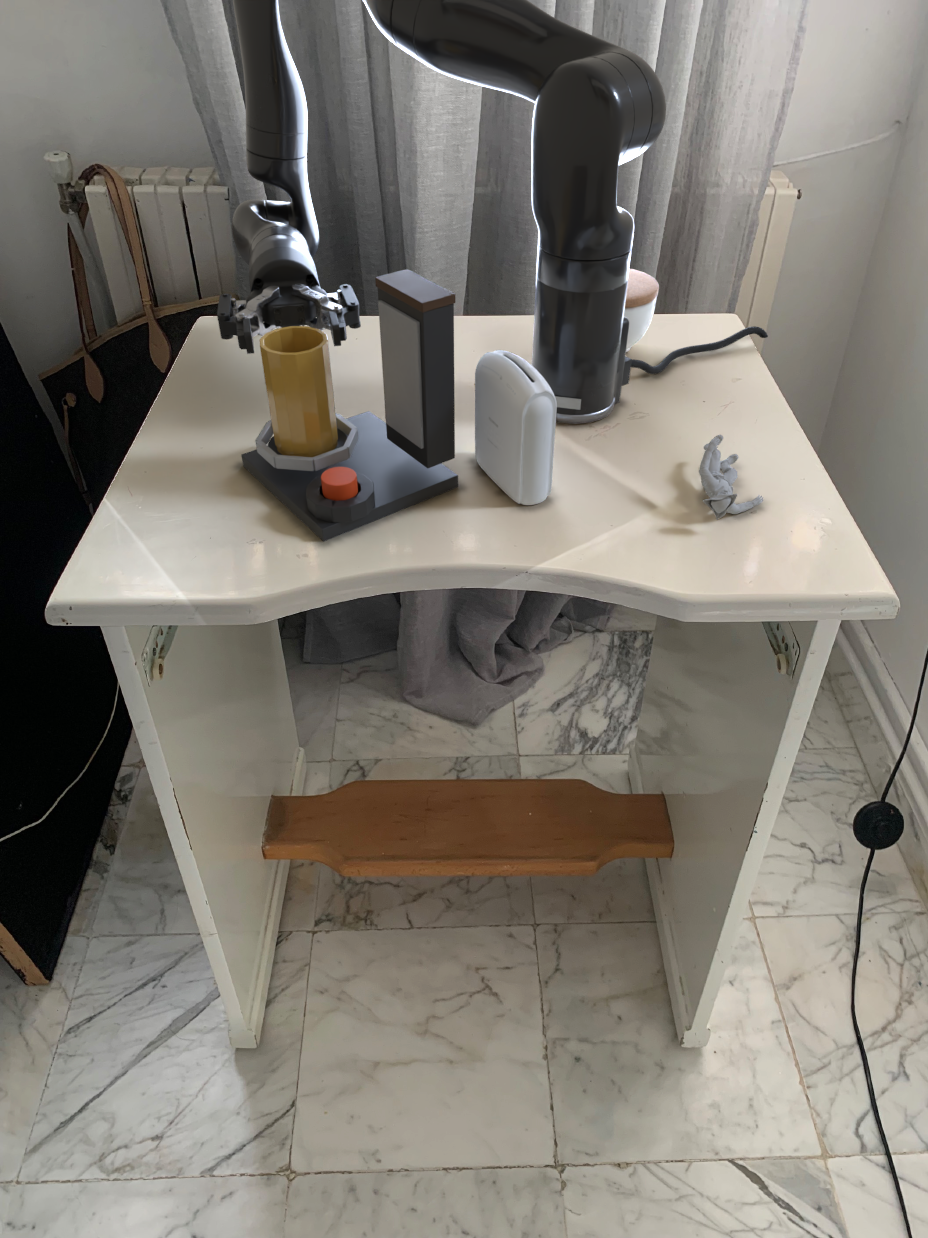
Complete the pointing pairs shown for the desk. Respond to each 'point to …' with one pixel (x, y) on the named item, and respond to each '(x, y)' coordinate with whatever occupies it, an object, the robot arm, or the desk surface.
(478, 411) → the photo printer
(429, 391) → the coffee maker
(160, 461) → the desk surface
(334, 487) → the button
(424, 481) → the brewer base
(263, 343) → the cup
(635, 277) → the trinket box
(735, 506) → the soldier figure
